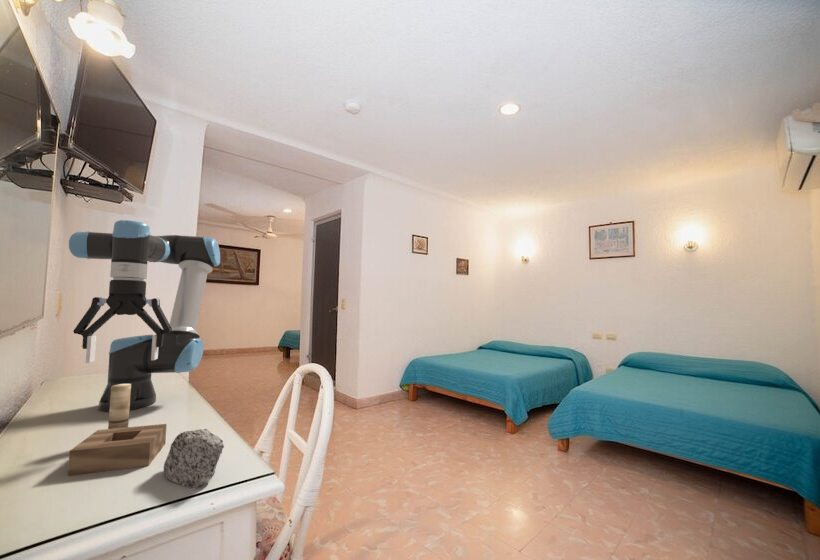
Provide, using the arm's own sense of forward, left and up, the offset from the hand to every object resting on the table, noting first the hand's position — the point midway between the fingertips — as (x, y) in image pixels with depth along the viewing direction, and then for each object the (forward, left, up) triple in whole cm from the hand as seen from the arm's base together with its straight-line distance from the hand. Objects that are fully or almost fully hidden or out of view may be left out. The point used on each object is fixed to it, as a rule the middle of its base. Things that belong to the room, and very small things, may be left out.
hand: (123, 360), depth 90 cm
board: (+12, +5, -20) cm, 24 cm away
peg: (0, 0, -20) cm, 20 cm away
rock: (+26, +22, -21) cm, 40 cm away
